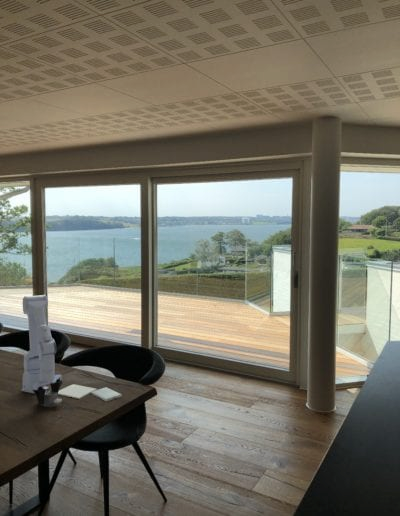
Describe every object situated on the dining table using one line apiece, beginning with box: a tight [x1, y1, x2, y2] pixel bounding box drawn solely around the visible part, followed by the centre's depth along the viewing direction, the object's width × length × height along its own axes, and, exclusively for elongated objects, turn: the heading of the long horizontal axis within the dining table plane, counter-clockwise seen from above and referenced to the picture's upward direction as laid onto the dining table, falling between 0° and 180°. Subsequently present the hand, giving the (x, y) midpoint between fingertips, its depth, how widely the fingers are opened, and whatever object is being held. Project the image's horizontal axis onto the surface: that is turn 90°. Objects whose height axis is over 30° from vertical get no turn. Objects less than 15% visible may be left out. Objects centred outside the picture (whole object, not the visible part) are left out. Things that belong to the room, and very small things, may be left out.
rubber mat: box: [58, 383, 98, 400], centre depth 195 cm, size 14×12×1 cm
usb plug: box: [38, 389, 63, 408], centre depth 180 cm, size 11×4×5 cm, turn 65°
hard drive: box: [90, 386, 123, 402], centre depth 192 cm, size 2×8×12 cm
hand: (48, 401), depth 181 cm, fingers open, 7 cm apart
